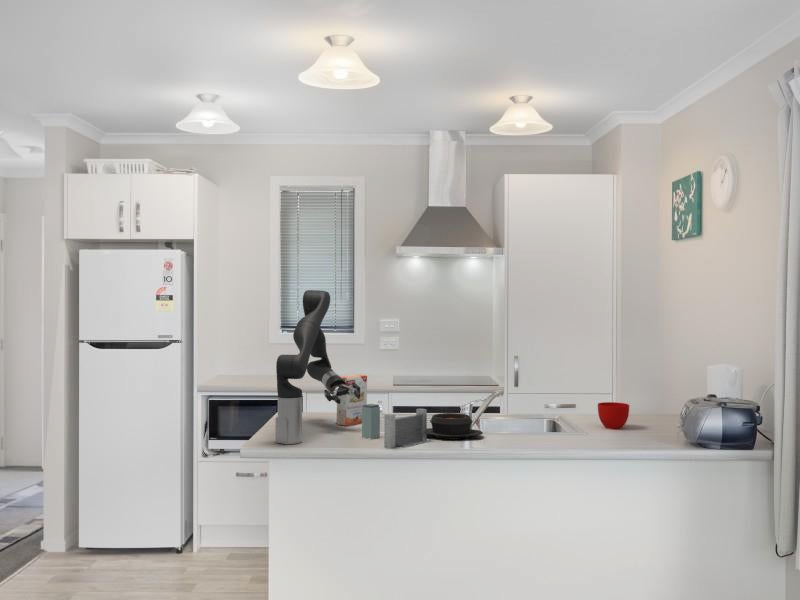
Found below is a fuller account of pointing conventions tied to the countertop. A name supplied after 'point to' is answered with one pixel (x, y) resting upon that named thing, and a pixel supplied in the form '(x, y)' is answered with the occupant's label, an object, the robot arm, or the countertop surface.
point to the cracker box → (352, 402)
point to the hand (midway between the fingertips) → (349, 399)
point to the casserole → (452, 426)
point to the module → (370, 421)
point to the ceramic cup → (613, 414)
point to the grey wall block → (405, 429)
